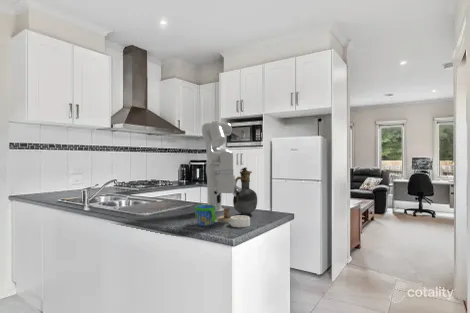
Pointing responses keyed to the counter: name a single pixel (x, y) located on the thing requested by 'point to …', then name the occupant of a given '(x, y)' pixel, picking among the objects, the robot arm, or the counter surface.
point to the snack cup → (205, 214)
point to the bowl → (240, 221)
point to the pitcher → (245, 195)
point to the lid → (226, 216)
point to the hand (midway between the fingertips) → (227, 203)
